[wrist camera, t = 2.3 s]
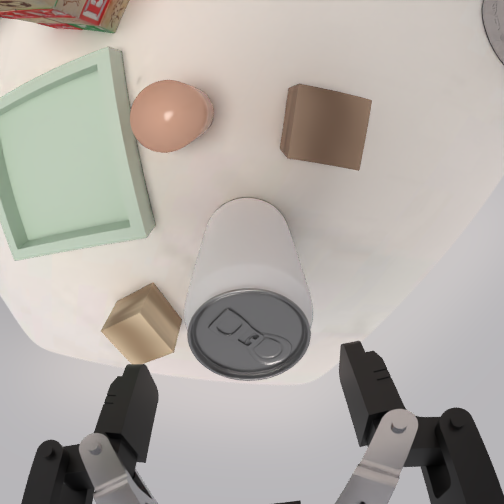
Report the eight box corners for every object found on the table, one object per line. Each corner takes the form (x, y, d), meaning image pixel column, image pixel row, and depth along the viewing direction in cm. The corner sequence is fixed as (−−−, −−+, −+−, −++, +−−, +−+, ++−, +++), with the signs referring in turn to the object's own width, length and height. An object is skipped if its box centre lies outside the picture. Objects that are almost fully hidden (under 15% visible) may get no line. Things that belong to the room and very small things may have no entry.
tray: (121, 51, 18) (108, 46, 16) (155, 225, 24) (146, 237, 22) (-8, 110, 19) (-25, 113, 16) (28, 248, 25) (14, 260, 22)
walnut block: (348, 100, 20) (371, 100, 16) (339, 158, 22) (359, 170, 18) (288, 88, 20) (298, 83, 16) (279, 148, 22) (287, 158, 18)
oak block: (153, 281, 27) (139, 312, 23) (182, 318, 28) (173, 352, 24) (117, 300, 27) (101, 331, 23) (145, 334, 29) (134, 366, 25)
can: (252, 285, 27) (256, 400, 16) (189, 240, 25) (152, 345, 14) (305, 231, 25) (348, 331, 14) (241, 178, 23) (238, 250, 12)
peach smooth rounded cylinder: (209, 81, 20) (196, 73, 14) (217, 135, 21) (207, 145, 16) (154, 93, 20) (124, 90, 14) (163, 145, 21) (137, 159, 16)
